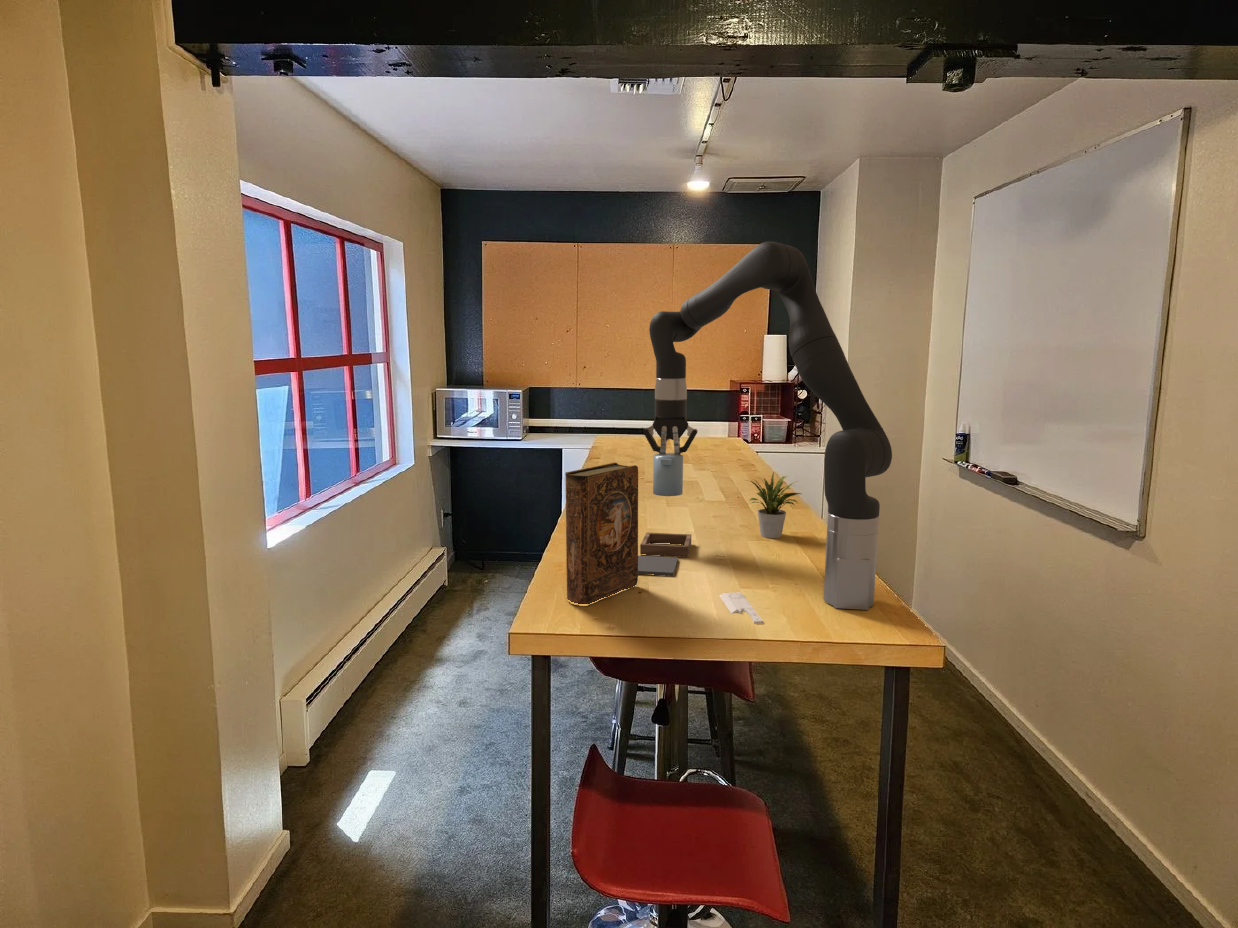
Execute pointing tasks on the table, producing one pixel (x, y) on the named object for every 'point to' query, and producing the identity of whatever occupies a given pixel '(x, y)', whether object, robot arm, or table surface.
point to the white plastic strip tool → (740, 605)
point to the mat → (657, 565)
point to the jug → (668, 474)
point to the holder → (666, 549)
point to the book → (601, 531)
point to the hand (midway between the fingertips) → (670, 468)
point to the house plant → (772, 508)
